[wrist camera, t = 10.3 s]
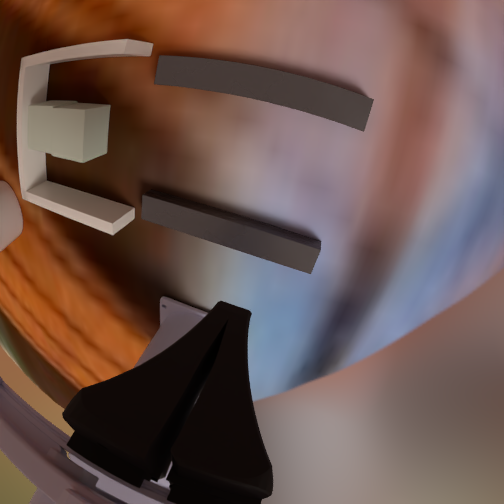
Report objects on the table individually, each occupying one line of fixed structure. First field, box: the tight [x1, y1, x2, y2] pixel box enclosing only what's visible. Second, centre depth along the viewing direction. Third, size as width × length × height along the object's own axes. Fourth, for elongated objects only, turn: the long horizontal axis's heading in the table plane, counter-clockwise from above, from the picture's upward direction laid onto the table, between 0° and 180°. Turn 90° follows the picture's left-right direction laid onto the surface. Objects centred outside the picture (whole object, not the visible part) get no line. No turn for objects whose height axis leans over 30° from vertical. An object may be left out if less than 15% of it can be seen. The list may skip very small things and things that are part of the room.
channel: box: [142, 55, 374, 274], centre depth 17 cm, size 12×13×1 cm
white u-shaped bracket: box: [17, 39, 153, 235], centre depth 17 cm, size 14×13×3 cm
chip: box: [28, 100, 78, 154], centre depth 18 cm, size 4×4×3 cm
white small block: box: [52, 103, 111, 163], centre depth 17 cm, size 4×4×3 cm
